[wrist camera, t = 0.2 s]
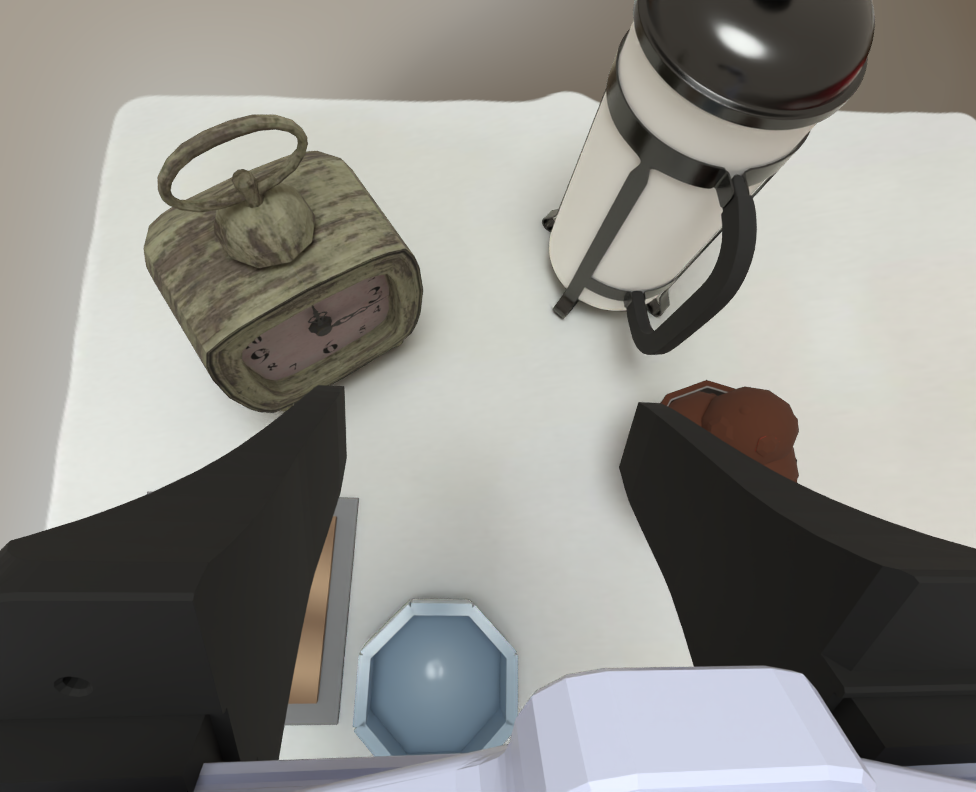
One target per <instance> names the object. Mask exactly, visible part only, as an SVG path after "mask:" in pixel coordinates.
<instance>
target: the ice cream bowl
mask: <svg viewBox="0 0 976 792" xmlns="http://www.w3.org/2000/svg"><path fill="white" fill-rule="evenodd" d="M661 403H662V404H664V405H666V406H668V407H670V408H672V409H673V410H675V411H677V412H679V413H680V414H682V415H683V416H685V417H687V418H688V419H690V420H691V421H693V422H695V423H696V424H698V425H699V426H701V427H702V428H704V429H705V430H707V431H708V432H710V433H712V434H713V435H715V436H716V437H718V438H719V439H721V440H722V441H724V442H726V443H727V444H729V445H730V446H732V447H734V448H735V449H737V450H739V451H740V452H742V453H743V454H745V455H747V456H748V457H750V458H752V459H754V460H755V461H757V462H759V463H761V464H762V465H764V466H766V467H768V468H769V469H771V470H773V471H775V472H777V473H779V474H780V475H782V476H784V477H786V478H788V479H790V480H792V481H794V482H796V483H797V478H798V476H799V474H798V469H797V460H796V458H795V453H794V448H793V445H794V442H795V440H796V437H797V435H798V432H799V428H798V419H797V418H796V417H795V415H794V414H793V411H792V409H791V407H790V405H789V404H788V403H787V402H785V401H784V400H782V399H781V398H779V397H778V396H777V395H775V394H774V393H772V392H771V391H769V390H763V389H757V388H751V387H742V388H738V389H734V388H731V387H728V386H724V385H721V384H718V383H714V382H711V381H708V380H706V381H703V382H700V383H697V384H694V385H692V386H689V387H686V388H683V389H681V390H678V391H675V392H672V393H669V394H667V395H666V396H665V397H664V399H663V400H662V402H661Z"/></svg>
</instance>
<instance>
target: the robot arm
mask: <svg viewBox="0 0 976 792" xmlns="http://www.w3.org/2000/svg"><path fill="white" fill-rule="evenodd" d="M346 458H347V452H346V422H345V392H344V386H326V385H317V386H316V387H314V388H313V389H312V390H311V391H310V392H308V393H307V394H306V395H305V396H303V397H302V398H301V399H300V400H299V401H298V402H296V403H295V404H294V405H293V406H292V407H290V408H289V409H288V410H287V411H286V412H285V413H283V414H282V415H281V416H280V417H278V418H277V419H276V420H274V421H273V422H272V423H271V424H269V425H268V426H267V427H265V428H264V429H263V430H261V431H260V432H258V433H257V434H256V435H254V436H253V437H251V438H250V439H249V440H247V441H246V442H244V443H243V444H242V445H240V446H239V447H237V448H235V449H234V450H232V451H231V452H229V453H228V454H226V455H224V456H223V457H221V458H219V459H217V460H216V461H214V462H212V463H210V464H209V465H207V466H205V467H203V468H202V469H200V470H198V471H196V472H194V473H192V474H190V475H188V476H186V477H184V478H181V479H179V480H177V481H175V482H173V483H171V484H169V485H167V486H165V487H162V488H160V489H158V490H156V491H154V492H152V493H149V494H147V495H145V496H142V497H140V498H137V499H135V500H132V501H130V502H127V503H125V504H122V505H120V506H117V507H114V508H112V509H109V510H106V511H104V512H101V513H98V514H95V515H92V516H89V517H87V518H84V519H81V520H78V521H74V522H71V523H68V524H65V525H61V526H58V527H55V528H52V529H48V530H45V531H42V532H39V533H36V534H32V535H29V536H26V537H22V538H18V539H15V540H11V541H10V542H9V543H7V544H6V545H5V546H4V548H2V549H1V551H0V792H976V549H975V548H971V547H968V546H964V545H961V544H957V543H954V542H950V541H947V540H943V539H940V538H936V537H933V536H930V535H927V534H923V533H920V532H917V531H915V530H912V529H909V528H906V527H903V526H900V525H897V524H894V523H891V522H888V521H885V520H883V519H880V518H877V517H875V516H872V515H869V514H867V513H864V512H862V511H859V510H857V509H854V508H852V507H849V506H847V505H845V504H842V503H840V502H837V501H835V500H832V499H830V498H828V497H826V496H823V495H821V494H819V493H817V492H815V491H812V490H810V489H808V488H806V487H804V486H802V485H800V484H798V483H796V482H794V481H792V480H790V479H788V478H786V477H784V476H782V475H780V474H779V473H777V472H775V471H773V470H771V469H769V468H768V467H766V466H764V465H762V464H761V463H759V462H757V461H755V460H754V459H752V458H750V457H748V456H747V455H745V454H743V453H742V452H740V451H739V450H737V449H735V448H734V447H732V446H730V445H729V444H727V443H726V442H724V441H722V440H721V439H719V438H718V437H716V436H715V435H713V434H712V433H710V432H708V431H707V430H705V429H704V428H702V427H701V426H699V425H698V424H696V423H695V422H693V421H691V420H690V419H688V418H687V417H685V416H683V415H682V414H680V413H679V412H677V411H675V410H673V409H672V408H670V407H668V406H666V405H664V404H662V403H643V402H638V406H637V409H636V412H635V416H634V419H633V423H632V426H631V429H630V433H629V436H628V439H627V443H626V446H625V449H624V453H623V456H622V459H621V463H620V466H619V468H620V472H621V476H622V480H623V483H624V487H625V490H626V493H627V497H628V500H629V502H630V505H631V507H632V509H633V512H634V514H635V516H636V518H637V520H638V523H639V525H640V527H641V529H642V531H643V533H644V535H645V538H646V540H647V542H648V544H649V546H650V548H651V550H652V553H653V555H654V557H655V559H656V561H657V563H658V565H659V568H660V570H661V572H662V574H663V576H664V579H665V581H666V583H667V586H668V588H669V591H670V593H671V596H672V599H673V602H674V605H675V608H676V611H677V614H678V617H679V620H680V623H681V626H682V629H683V632H684V635H685V639H686V642H687V645H688V649H689V652H690V655H691V658H692V662H693V665H694V667H649V668H602V669H596V670H590V671H584V672H579V673H573V674H567V675H565V676H563V677H561V678H559V679H557V680H555V681H553V682H551V683H550V684H548V685H546V686H544V687H542V688H540V689H538V690H536V692H535V693H534V694H533V695H532V696H531V698H530V699H529V701H528V702H527V703H526V705H525V706H524V708H523V709H522V710H521V712H520V713H519V714H518V716H517V717H516V719H515V723H514V727H513V731H512V735H511V739H510V742H509V744H507V745H502V746H497V747H492V748H488V749H483V750H479V751H474V752H470V753H458V754H432V755H405V756H378V757H351V758H325V759H298V760H279V755H280V748H281V742H282V736H283V730H284V725H285V719H286V714H287V708H288V702H289V697H290V691H291V686H292V680H293V675H294V669H295V664H296V659H297V654H298V649H299V643H300V638H301V633H302V628H303V623H304V618H305V613H306V609H307V604H308V599H309V594H310V590H311V586H312V582H313V578H314V575H315V571H316V568H317V565H318V562H319V559H320V556H321V553H322V549H323V546H324V543H325V540H326V537H327V534H328V531H329V528H330V525H331V522H332V518H333V515H334V512H335V509H336V506H337V502H338V499H339V496H340V492H341V487H342V482H343V476H344V470H345V464H346Z"/></svg>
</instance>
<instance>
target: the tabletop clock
mask: <svg viewBox="0 0 976 792" xmlns="http://www.w3.org/2000/svg"><path fill="white" fill-rule="evenodd" d="M274 129H276V130H281V131H286V132H289V133H291V134H293V135H295V136H296V138H297V140H298V145H297V149H296V150H295V151H294V152H293V153H292V154H291V155H289V156H286V157H283V158H280V159H278V160H275V161H272V162H270V163H267V164H265V165H262V166H260V167H257V168H255V169H252V170H250V171H247V170H244V169H241V170H237V171H236V172H235V173H234V174H233V177H232V178H230V179H228V180H226V181H224V182H222V183H220V184H217V185H215V186H213V187H211V188H209V189H207V190H205V191H203V192H201V193H199V194H197V195H195V196H193V197H191V198H189V199H187V200H179V199H177V198H175V197H174V196H173V195H172V193H171V185H172V182H173V180H174V179H175V177H176V175H177V174H178V172H179V171H180V170H181V169H182V168H183V167H184V166H185V165H186V164H188V163H189V162H190V161H191V160H192V159H193V158H195V157H197V156H199V155H201V154H202V153H204V152H206V151H208V150H210V149H212V148H214V147H216V146H218V145H221V144H223V143H225V142H228V141H230V140H232V139H235V138H237V137H240V136H244V135H247V134H250V133H253V132H257V131H263V130H274ZM307 145H308V142H307V136H306V134H305V132H304V131H303V129H302V128H301V127H300V126H299V125H298V124H296V123H295V122H294V121H293V120H291V119H288V118H284V117H281V116H278V115H249V116H245V117H241V118H237V119H233V120H229V121H227V122H224V123H222V124H219V125H217V126H214V127H212V128H209V129H207V130H205V131H202V132H201V133H199V134H197V135H196V136H194V137H192V138H191V139H189V140H187V141H185V142H184V143H182V144H181V145H180V146H179V147H178V148H177V149H176V150H175V151H174V152H173V153H172V154H171V155H170V156H169V157H168V158H167V159H166V161H165V163H164V165H163V167H162V169H161V171H160V173H159V175H158V191H159V194H160V196H161V198H162V200H163V201H164V202H165V203H167V204H168V205H169V206H172V207H171V208H170V209H168V210H167V211H165V212H164V213H163V214H161V215H160V216H159V217H158V218H157V219H156V220H155V221H154V222H153V223H152V224H150V225H149V228H148V233H147V237H146V241H145V245H144V255H145V262H146V267H147V269H148V271H149V273H150V275H151V277H152V279H153V281H154V282H155V284H156V286H157V287H158V289H159V291H160V292H161V294H162V296H163V297H164V299H165V301H166V302H167V304H168V306H169V307H170V309H171V311H172V313H173V314H174V316H175V318H176V319H177V321H178V323H179V324H180V326H181V328H182V329H183V331H184V333H185V334H186V336H187V338H188V339H189V341H190V343H191V344H192V346H193V348H194V349H195V351H196V353H197V354H198V356H199V358H200V359H201V361H202V363H203V364H204V366H205V368H206V369H207V371H208V373H209V374H210V376H211V378H212V380H213V381H214V382H215V383H216V384H217V385H218V386H219V387H220V388H221V390H222V391H223V392H224V393H225V394H226V395H227V396H228V397H229V398H230V399H232V400H234V401H236V402H238V403H240V404H241V405H243V406H245V407H247V408H249V409H252V410H255V411H258V412H267V413H274V412H277V411H279V410H281V411H286V410H288V409H289V408H290V407H292V406H293V404H295V403H296V402H298V401H299V400H300V399H301V398H302V397H303V396H305V395H306V394H307V393H308V392H310V391H311V390H312V389H313V388H314V387H316V386H317V385H326V386H329V385H331V384H333V383H335V382H337V381H339V380H340V379H342V378H344V377H346V376H348V375H349V374H351V373H353V372H354V371H356V370H357V369H359V368H361V367H362V366H364V365H366V364H367V363H369V362H370V361H372V360H374V359H375V358H377V357H379V356H380V355H382V354H383V353H385V352H387V351H388V350H390V349H391V348H393V347H397V346H400V345H401V344H402V343H403V340H404V339H405V338H406V337H407V336H409V335H410V334H411V333H412V331H413V330H414V328H415V326H416V324H417V322H418V319H419V316H420V312H421V304H422V295H423V287H422V280H421V274H420V268H419V265H418V263H417V261H416V259H415V256H414V255H413V254H412V252H411V251H410V249H409V248H408V247H407V245H406V244H405V243H404V241H403V240H402V238H401V237H400V236H399V234H398V233H397V231H396V230H395V229H394V227H393V226H392V224H391V223H390V222H389V220H388V219H387V217H386V216H385V215H384V213H383V212H382V211H381V209H380V208H379V206H378V205H377V204H376V202H375V201H374V199H373V198H372V197H371V195H370V194H369V192H368V191H367V190H366V188H365V187H364V186H363V184H362V183H361V181H360V180H359V179H358V177H357V176H356V174H355V173H354V172H353V170H352V169H351V168H350V167H349V166H348V165H347V164H346V163H345V162H344V161H343V160H342V159H341V158H338V157H335V156H332V155H329V154H325V153H322V152H319V151H308V152H306V149H307Z"/></svg>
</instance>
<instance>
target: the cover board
mask: <svg viewBox="0 0 976 792" xmlns="http://www.w3.org/2000/svg"><path fill="white" fill-rule="evenodd" d="M336 522H337V517H336V516H333V518H332V522H331V525H330V528H329V531H328V534H327V537H326V540H325V543H324V546H323V549H322V553H321V556H320V559H319V562H318V565H317V568H316V571H315V575H314V578H313V582H312V586H311V590H310V594H309V599H308V604H307V609H306V613H305V618H304V623H303V628H302V633H301V638H300V643H299V649H298V654H297V659H296V664H295V669H294V675H293V680H292V686H291V691H290V697H289V702H288V704H316V703H317V702H318V697H319V687H320V677H321V668H322V658H323V648H324V638H325V629H326V619H327V609H328V600H329V590H330V580H331V570H332V561H333V551H334V541H335V531H336Z"/></svg>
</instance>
